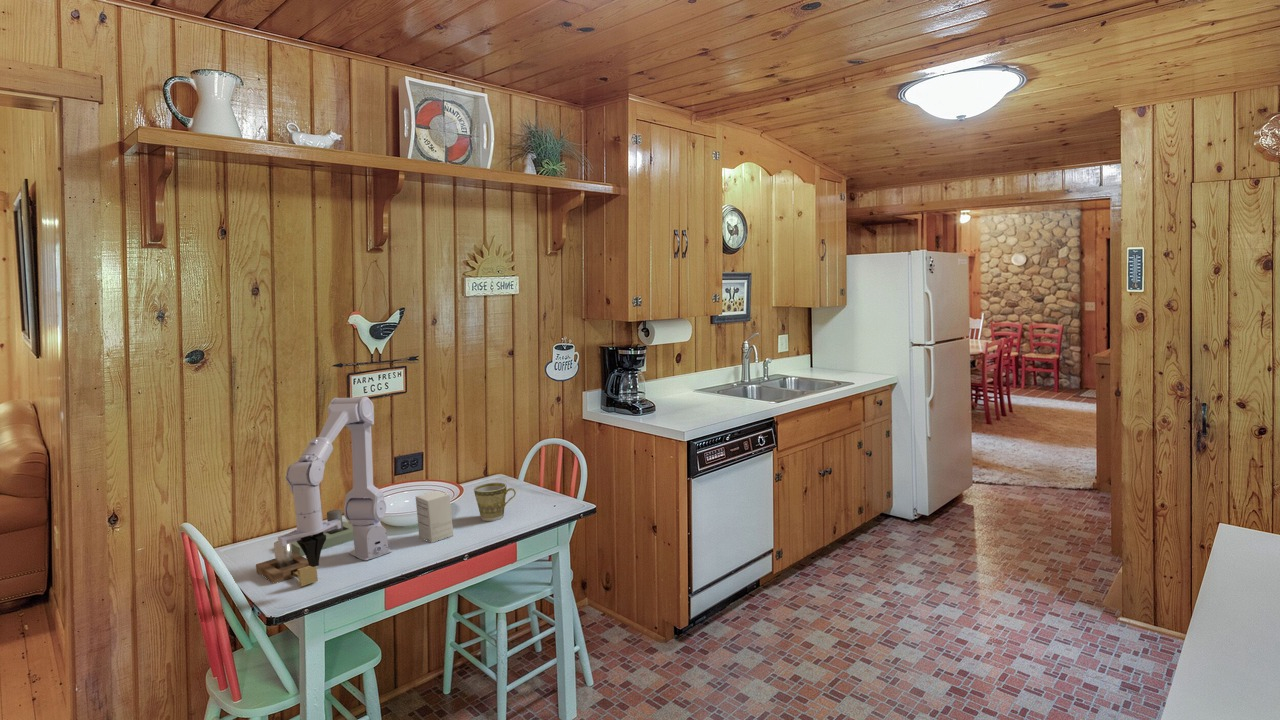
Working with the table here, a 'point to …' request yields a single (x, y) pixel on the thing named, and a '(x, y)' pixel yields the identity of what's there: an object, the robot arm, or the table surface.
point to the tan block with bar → (306, 575)
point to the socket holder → (285, 573)
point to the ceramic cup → (491, 500)
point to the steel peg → (283, 555)
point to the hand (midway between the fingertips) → (313, 565)
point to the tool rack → (331, 533)
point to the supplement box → (434, 516)
